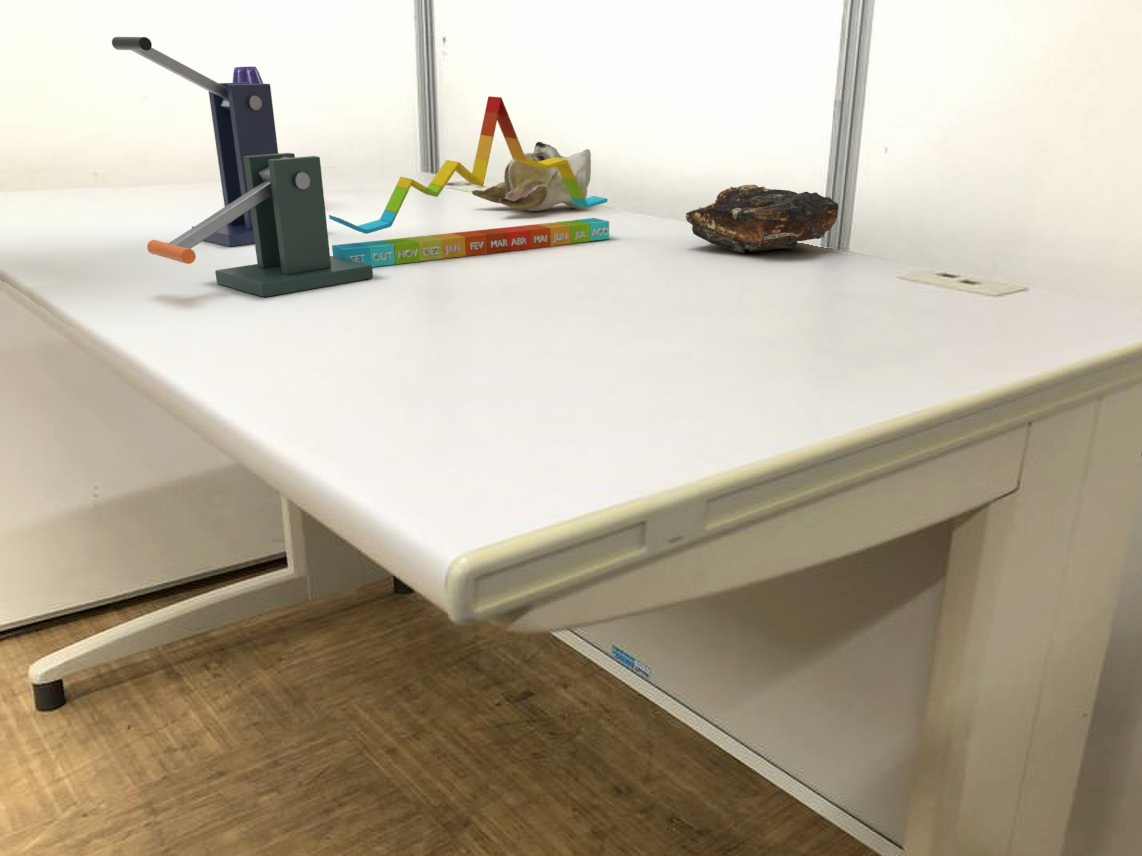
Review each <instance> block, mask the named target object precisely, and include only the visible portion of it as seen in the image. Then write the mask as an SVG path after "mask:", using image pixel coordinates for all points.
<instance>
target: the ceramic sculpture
mask: <svg viewBox="0 0 1142 856" xmlns="http://www.w3.org/2000/svg"><path fill="white" fill-rule="evenodd" d="M524 155H525V158H528V159H530V160H533V161H536V162H539V161H543V160H546V159H550V158H553V157H555V158H561V159H567V161H568V163H569V165H570V167H571V169H572V171H573V173H574V176H575V178H576V180H577V182H578V184H579V186H580V189H581V191H582V193H583V195H584V197H585V198H587V195H588V188H589V185H590V182H591V175H592V173H591V172H592V159H591V157H592V153H591V150H590V148H586V149H584V150H582V151H580V152H576V153H573V154H571V155H569V156H563V155H561V154H560V153H559V151H558V149H557V148H556V147H554V146H552V145H550V144H547V143H544V142H542V141H537V142H536V143H535V146H534V148H533V152H524ZM503 180H504V181H503V182H499V183H498V184H496V185H492V186H490V187H488V188H486V189H484V190H481V189H474V190H471V194H472V195H473V196H474V197H478V198H480V199H483V200H486V201H488V202H491V203H496V204H501V205H504V206H506V207H509V208H512V209H514V210H520V211H529V212H541V211H546V210H549V209H550V208H552V207H554V206H556V205H560V204H564V205H566V206H568V207H569V208H572V209H577V208H580V207H582V206H577V205H574V203H573V201H572V198H571V196H570V194H569V192H568V190H567V188H566V186H565V183H564V181H563V179H562V177H561V175H560V173H559V171H558V169H557V166H555V167H551V168H548V169H545V168H540V167H534V166H531V165H528V164H525V163H522V162H519V161H516V160H514V159H513V158H511V159H510V161H509V162H507V165H506V167H505V170H504V177H503Z"/></svg>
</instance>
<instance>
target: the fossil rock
mask: <svg viewBox="0 0 1142 856" xmlns="http://www.w3.org/2000/svg"><path fill="white" fill-rule="evenodd" d="M838 214H839V203H838V202H836V201H834V200H833V198H831V197H830V196H823V195H821V194H819V193H818V192H814V191H813V192H809V191H803V192H800V193H798V192H796V191H792V190H789V189H788V190H787V189H775V188H773V189H771V188H766V187H765V185H764V186H758V185H756V184H744V185H740V186H737V187H736V186H735V187H733V186H730V187H729V188H726V189H724V190H722V191H720V192H719V193H718V194H717V196H716V199H715V200H714V202H712V204H711V203H710V204H708V205H707V206H704V207H701V206H700V207H699V208H697V209H693V210H690V211H688V212H686V213H685V219H686V222H688V223H689V224H690V225H691V230H692V234H693V235H694V236H697V237H698V238H700V239H702V240H704V241H705V242H708V243H709V244H712V245H715V246H718V247H721V248H725V249H728V250H730V251H734V252H736V253H743V254H744V253H745V252H746V250H747V251H748V253H756V252H764V251H765V252H767V251H771V250H779V249H794V248H795V247H796V246H797V243H798V242H805V241H811V240H819V239H822V238H823V237H825V234H826V233H827V232H829V231H830V230H831V229H832V227H833V226H834V225H835V224H836V222H837V219H838Z"/></svg>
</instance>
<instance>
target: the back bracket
mask: <svg viewBox="0 0 1142 856" xmlns="http://www.w3.org/2000/svg"><path fill="white" fill-rule="evenodd" d="M218 83H219V84H221V85H223V86H224V87H226V88H227V91H228V98H229V106H230V111H229V110H227V109H226V108H224V107H222V106H221V104H222V101H223V98H221V97H219V96H217V95H215V94H213V93H211V92H209V91H208V97H209V98H208V99H209V104H210V112H211V119H212V126H213V133H214V140H215V149H216V156H217V162H218V163H217V164H218V169H219V176H220V185H221V190H222V191H221V192H222V200H223V206H224V207H226V206H227V205H229V204H230V203H232V202H233V201H235V200H236V199H238V198H239V197H241V196H243V195H244V194H246V193H247V192H248V187H247V179H246V171H245V164H244V156H251V155H265V154H278V153H279V147H278V139H277V138H278V137H277V131H276V123H275V113H274V105H273V97H272V88H271V87H272V86H271V84H270V83H263V84H250V83H233V82H218ZM195 226H196V225H194V226H191V229H192V228H193V227H195ZM204 241H206V242H209V243H214V244H218V245H222V246H226V247H229V248H231V247H238V246H245V245H253V244H254V245H255V240H254V233H253V225H252V217H251V210H249V211H247V212H246V213H244V214H243V215H241V216H240V217H238V218H237V219H235V220H234V221H232V222H230V223H229V224H227V225H226V226H224V227H223V228H221V229H220V230H218V231H217V232H215V233H214V234H212V235H211V236H209V237H208V238H206V239H205V240H204Z"/></svg>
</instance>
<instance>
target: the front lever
mask: <svg viewBox="0 0 1142 856" xmlns="http://www.w3.org/2000/svg"><path fill="white" fill-rule="evenodd" d="M282 158H288V157H282ZM280 159H281V158H280ZM259 174H260V176H261V178H262V180H263V181H264V182H263V183H261V184H260V185H258V186H256V187H255V188H253V189H252V190H250V191H249V192H247V193H246V194H244V195H243V196H241V197H239V198H238V199H236V200H235V201H233V202H232V203H230V204H229V205H227V206H226V207H225V206H224V207H223V208H222V207H221V208H220V209H219V210H218V211H216V212H215V213H213V214H212V215H210V216H209V217H207V218H205V219H204V220H202V221H200V222H199V223H197V224H196V225H194V226H195V227H193V226H192V227H193V228H192V227H191V228H190V229H188V230H187V231H185V232H184V233H182V234H180V235H179V236H177V237H176V238H174V239H173V240H171V241H169V242H166V241H162V240H159V239H158V240H157V239H151V240H149V242H148V243H147V246H146V248H147V251H148V252H149V254H151V255H154V256H158V257H161V258H165V259H169V260H172V261H176V262H180V263H183V264H187V265H190V264H193V263H194V262H195V261H196V252H195V251H194V250H193V249H192V248H194V247H196V246H197V245H199V244H200V243H202V242H204V241H205V239H206V238H208V237H209V236H211V235H212V234H214V233H215V232H217V231H218V230H220V229H221V228H223V227H224V226H226V225H227V224H229V223H230V222H232V221H234V220H235V219H237V218H238V217H240V216H241V215H243V214H244V213H246V212H247V211H249V210H250V209H252V208H253V207H255V206H256V205H258V204H259V203H261V202H262V201H264V200H265V199H267V198H268V197H270V196H272V188H271V179H270V171H269V166H268V167H266V168H265V169H263V170H262V171H260V172H259ZM272 197H273V196H272Z"/></svg>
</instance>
